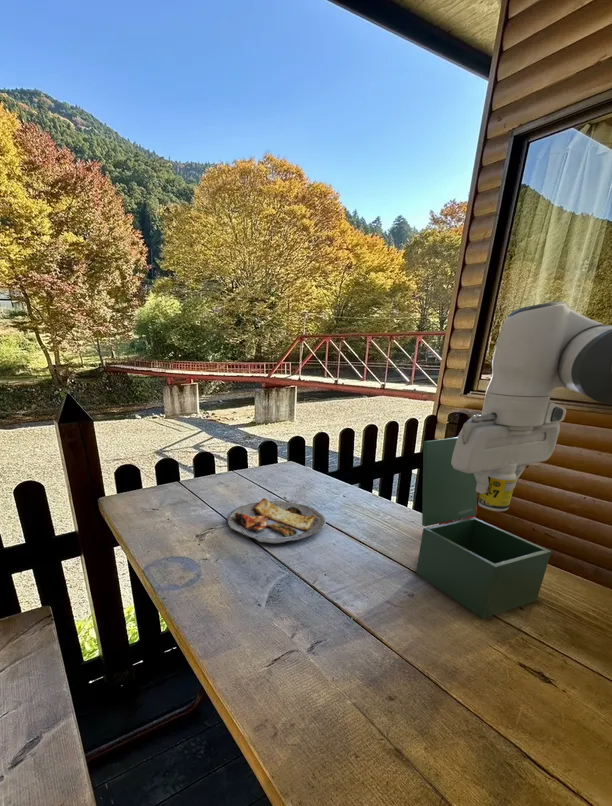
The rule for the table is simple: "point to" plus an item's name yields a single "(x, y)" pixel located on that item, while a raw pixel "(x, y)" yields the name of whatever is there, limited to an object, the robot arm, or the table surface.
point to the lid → (445, 485)
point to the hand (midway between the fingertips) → (495, 490)
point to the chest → (482, 565)
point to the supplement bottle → (499, 489)
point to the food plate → (276, 519)
